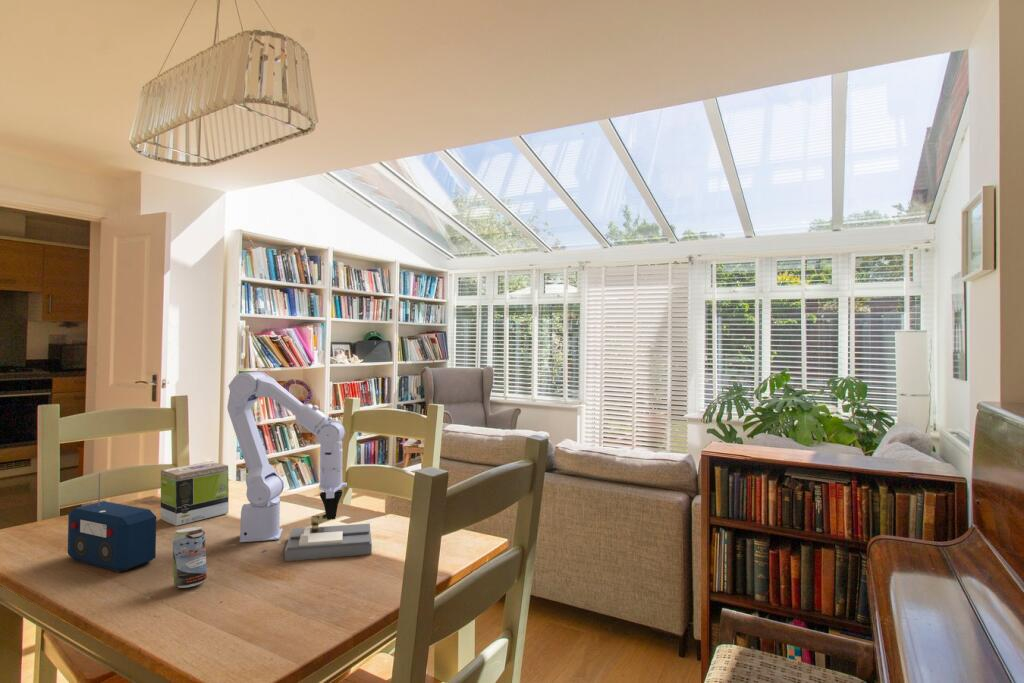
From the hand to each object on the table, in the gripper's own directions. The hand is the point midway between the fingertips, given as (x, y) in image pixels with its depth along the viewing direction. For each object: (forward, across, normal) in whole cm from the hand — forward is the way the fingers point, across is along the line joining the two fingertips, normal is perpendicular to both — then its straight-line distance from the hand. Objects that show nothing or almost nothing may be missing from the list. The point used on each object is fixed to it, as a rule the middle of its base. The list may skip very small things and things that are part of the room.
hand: (331, 518), depth 149 cm
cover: (+2, -10, +2) cm, 10 cm away
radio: (+4, -5, +49) cm, 49 cm away
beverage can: (+5, -23, +28) cm, 37 cm away
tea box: (+4, +27, +39) cm, 48 cm away
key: (+2, 0, +2) cm, 3 cm away
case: (+5, -6, 0) cm, 8 cm away
